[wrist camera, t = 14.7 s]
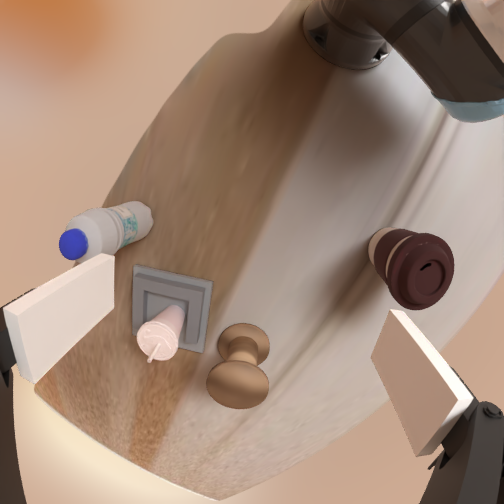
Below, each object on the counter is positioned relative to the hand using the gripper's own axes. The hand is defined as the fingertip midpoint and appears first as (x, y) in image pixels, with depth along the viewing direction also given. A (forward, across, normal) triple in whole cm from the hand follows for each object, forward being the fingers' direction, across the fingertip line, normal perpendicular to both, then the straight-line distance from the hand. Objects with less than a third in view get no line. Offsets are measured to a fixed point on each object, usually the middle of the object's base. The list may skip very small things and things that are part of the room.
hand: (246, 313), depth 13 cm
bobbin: (+33, +1, -23) cm, 40 cm away
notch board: (+33, -13, -19) cm, 40 cm away
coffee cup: (+33, +21, -1) cm, 39 cm away
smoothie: (+32, -12, -19) cm, 39 cm away
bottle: (+33, -20, -4) cm, 39 cm away
